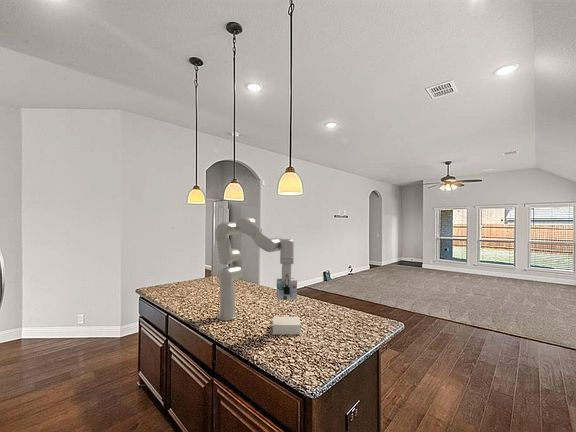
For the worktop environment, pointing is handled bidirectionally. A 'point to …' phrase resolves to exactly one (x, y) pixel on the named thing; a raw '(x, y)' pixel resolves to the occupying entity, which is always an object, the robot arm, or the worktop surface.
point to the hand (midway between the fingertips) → (286, 292)
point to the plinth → (286, 325)
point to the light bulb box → (292, 290)
